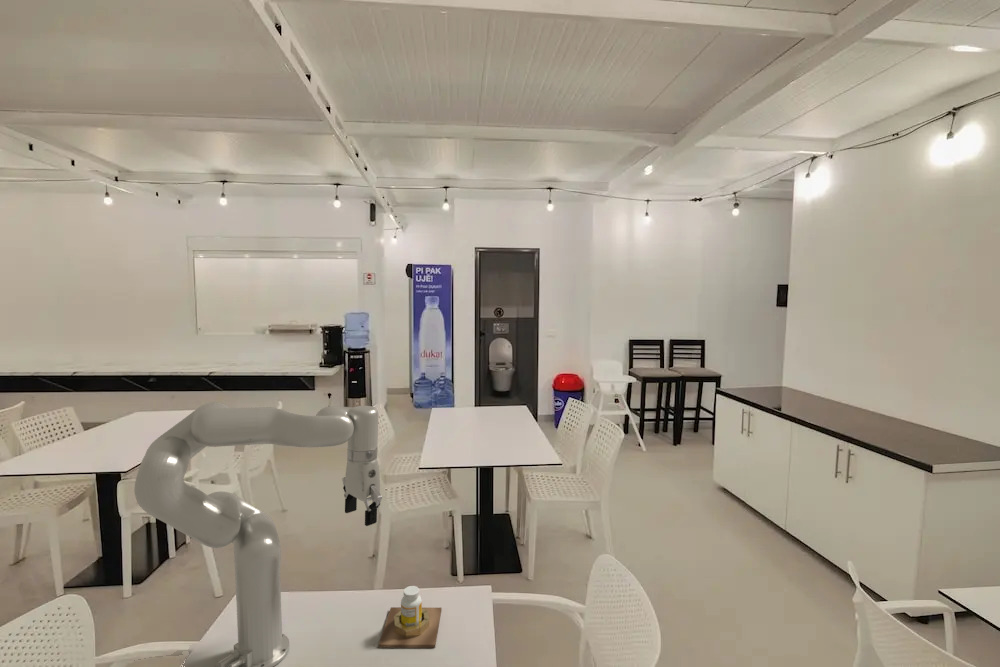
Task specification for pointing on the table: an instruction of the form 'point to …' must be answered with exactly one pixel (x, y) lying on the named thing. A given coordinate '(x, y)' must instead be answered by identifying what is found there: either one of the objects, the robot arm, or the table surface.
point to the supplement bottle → (411, 607)
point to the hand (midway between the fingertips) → (360, 517)
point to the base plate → (398, 641)
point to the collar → (411, 630)
